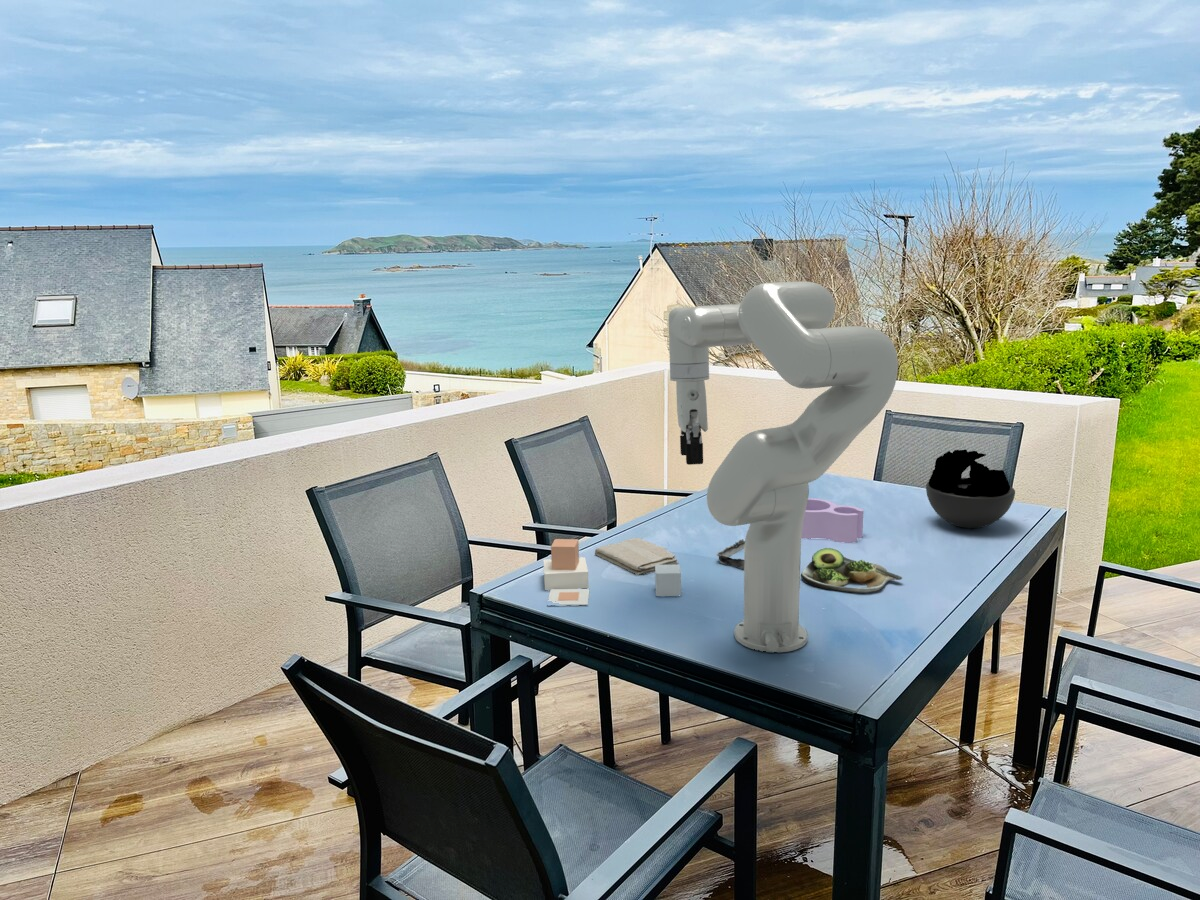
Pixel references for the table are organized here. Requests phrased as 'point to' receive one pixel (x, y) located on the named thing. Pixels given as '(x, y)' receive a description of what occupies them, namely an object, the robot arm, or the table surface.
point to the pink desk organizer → (832, 521)
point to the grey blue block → (668, 580)
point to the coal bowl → (968, 490)
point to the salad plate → (844, 572)
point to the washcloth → (636, 555)
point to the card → (569, 596)
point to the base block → (566, 576)
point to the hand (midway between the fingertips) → (691, 459)
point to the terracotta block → (565, 554)
